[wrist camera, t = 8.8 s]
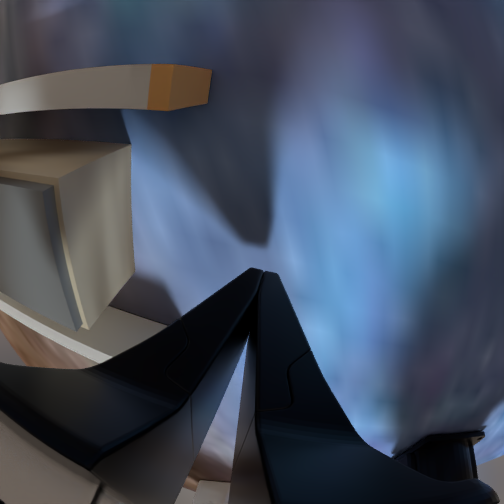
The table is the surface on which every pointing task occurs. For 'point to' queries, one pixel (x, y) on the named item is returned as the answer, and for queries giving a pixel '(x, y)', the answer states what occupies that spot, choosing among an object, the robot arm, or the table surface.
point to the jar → (212, 492)
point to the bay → (102, 96)
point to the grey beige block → (65, 226)
